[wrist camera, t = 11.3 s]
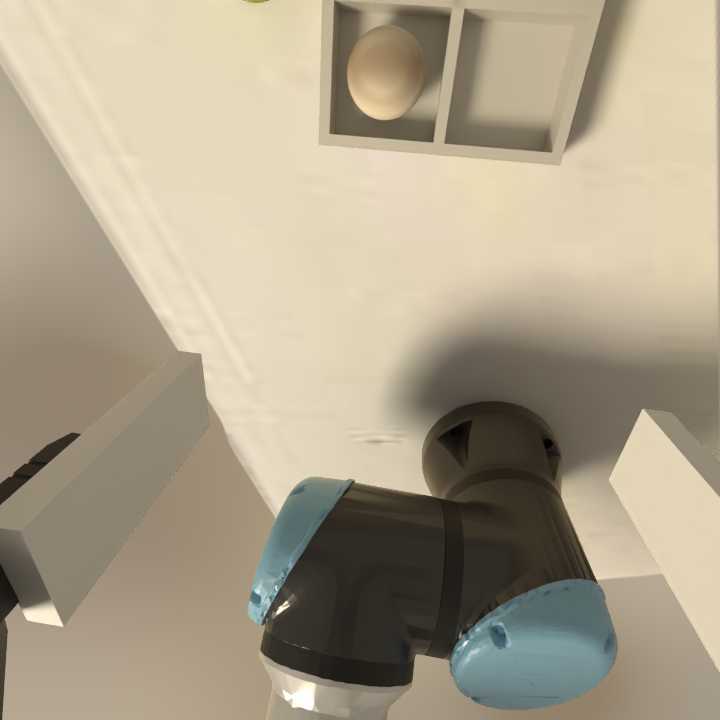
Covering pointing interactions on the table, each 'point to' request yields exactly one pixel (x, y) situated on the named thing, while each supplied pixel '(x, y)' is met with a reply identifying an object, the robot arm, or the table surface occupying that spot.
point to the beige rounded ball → (386, 72)
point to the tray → (466, 76)
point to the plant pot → (256, 1)
